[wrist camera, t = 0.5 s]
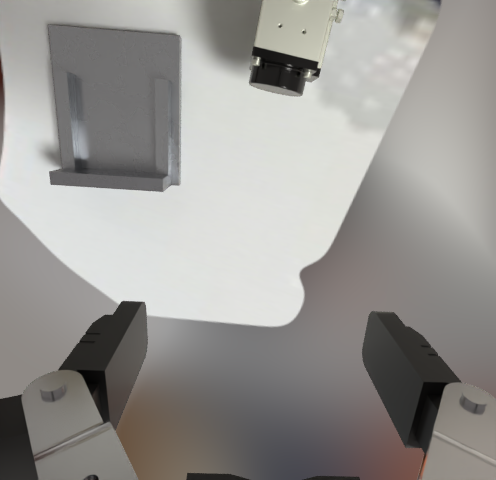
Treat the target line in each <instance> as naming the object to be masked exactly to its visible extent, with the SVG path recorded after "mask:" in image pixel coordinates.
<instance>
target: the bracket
mask: <svg viewBox="0 0 496 480" xmlns="http://www.w3.org/2000/svg"><path fill="white" fill-rule="evenodd" d="M48 29H49V39H50V50H51V60H52V70H53V80H54V90H55V100H56V111H57V121H58V131H59V141H60V151H61V161H62V169H58V170H54V171H50V172H49V174H50V183H51V185H65V186H81V187H96V188H112V189H128V190H143V191H159V192H163V191H165V190H166V189H167V188H168V187H169V186H171V185H178V186H179V185H180V168H181V37H180V35H168V34H156V33H143V32H131V31H119V30H107V29H95V28H83V27H70V26H58V25H48Z"/></svg>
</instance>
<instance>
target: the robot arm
mask: <svg viewBox="0 0 496 480" xmlns="http://www.w3.org/2000/svg"><path fill="white" fill-rule="evenodd" d="M147 338H148V337H147V317H146V305H145V302H134V301H122V302H121V303H120V305H119V306H118V308H117V309H116V311H115V312H114V314H113V315H104V316H102V317H101V318H99V319H98V320H96V321H95V322H93V323H92V325H91V326H90V327H89V329H88V330H87V331H86V334H85V335H84V336H83V337H82V338H81V340H80V342H79V343H78V344H77V345H76V347H75V348H74V349H73V350H72V352H71V353H70V355H69V356H68V357H67V359H66V360H65V361H64V363H63V364H62V366H61V367H60V368H59V370H58V371H54V372H50V373H48V374H45V375H43V376H41V377H39V378H37V379H35V380H34V381H33V382H32V383H30V384H29V385H28V386H27V387H26V389H25V390H24V392H23V394H22V395H18V396H13V397H9V398H3V399H0V480H138V478H137V476H136V474H135V472H134V470H133V468H132V466H131V463H130V461H129V459H128V457H127V455H126V453H125V451H124V449H123V447H122V445H121V443H120V440H119V438H118V436H117V434H116V432H115V430H116V428H117V425H118V423H119V420H120V418H121V415H122V413H123V410H124V408H125V405H126V403H127V401H128V398H129V395H130V393H131V391H132V388H133V386H134V384H135V381H136V379H137V376H138V374H139V371H140V369H141V366H142V364H143V361H144V359H145V356H146V352H147V344H148V339H147ZM362 356H363V362H364V365H365V368H366V370H367V372H368V374H369V376H370V378H371V380H372V382H373V384H374V386H375V388H376V390H377V392H378V394H379V396H380V397H381V399H382V402H383V404H384V406H385V408H386V409H387V412H388V414H389V416H390V418H391V420H392V422H393V423H394V426H395V428H396V430H397V431H398V434H399V436H400V438H401V440H402V442H403V443H404V445H405V447H406V448H422V450H423V451H424V453H425V454H424V457H423V461H422V464H421V468H420V471H419V475H418V479H417V480H496V399H495V398H494V397H493V396H491V395H490V394H488V393H487V392H485V391H484V390H482V389H480V388H477V387H475V386H472V385H469V384H466V383H462V382H461V381H460V380H459V378H458V377H457V376H456V375H455V374H454V373H453V372H452V370H451V369H450V368H449V367H448V365H447V364H446V363H445V362H444V361H443V360H442V358H441V357H440V356H438V354H437V352H436V351H435V350H434V349H433V348H431V345H430V344H429V343H428V342H427V341H426V339H425V338H424V337H423V336H422V335H421V334H419V333H418V332H416V331H415V330H413V329H412V328H410V327H406V326H405V325H404V324H403V323H402V321H401V320H400V319H399V318H398V316H397V315H396V314H395V313H394V312H377V311H376V312H375V311H372V312H371V313H370V314H369V318H368V323H367V328H366V333H365V338H364V343H363V349H362ZM187 480H249V479H245V478H242V477H239V476H235V475H231V474H204V473H203V474H202V473H187ZM304 480H360V478H359V477H336V476H316V477H312V478H308V479H304Z"/></svg>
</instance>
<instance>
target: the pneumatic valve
mask: <svg viewBox="0 0 496 480" xmlns="http://www.w3.org/2000/svg"><path fill="white" fill-rule="evenodd" d="M342 1H346V0H342ZM337 3H338V0H262V5H261V10H260V15H259V20H258V25H257V31H256V36H255V41H254V46H253V51H252V57H251V63H250V70H251V75H250V80H249V84H250V85H251V86H253V87H255V88H258V89H261V90H265V91H268V92H272V93H277V94H282V95H287V96H302V94H303V90H304V86H305V82H306V81H307V82H312V81H314V80H315V79H317V78H319V74H320V70H321V66H322V62H323V58H324V54H325V51H326V47H327V43H328V39H329V35H330V31H331V27H332V23H333V21H334V19H335V18H336V19H335V22H336V23H340V22H341V20H342V17H343V13H344V10H342V9H339V10H338V12H337V8H336V7H337Z"/></svg>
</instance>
